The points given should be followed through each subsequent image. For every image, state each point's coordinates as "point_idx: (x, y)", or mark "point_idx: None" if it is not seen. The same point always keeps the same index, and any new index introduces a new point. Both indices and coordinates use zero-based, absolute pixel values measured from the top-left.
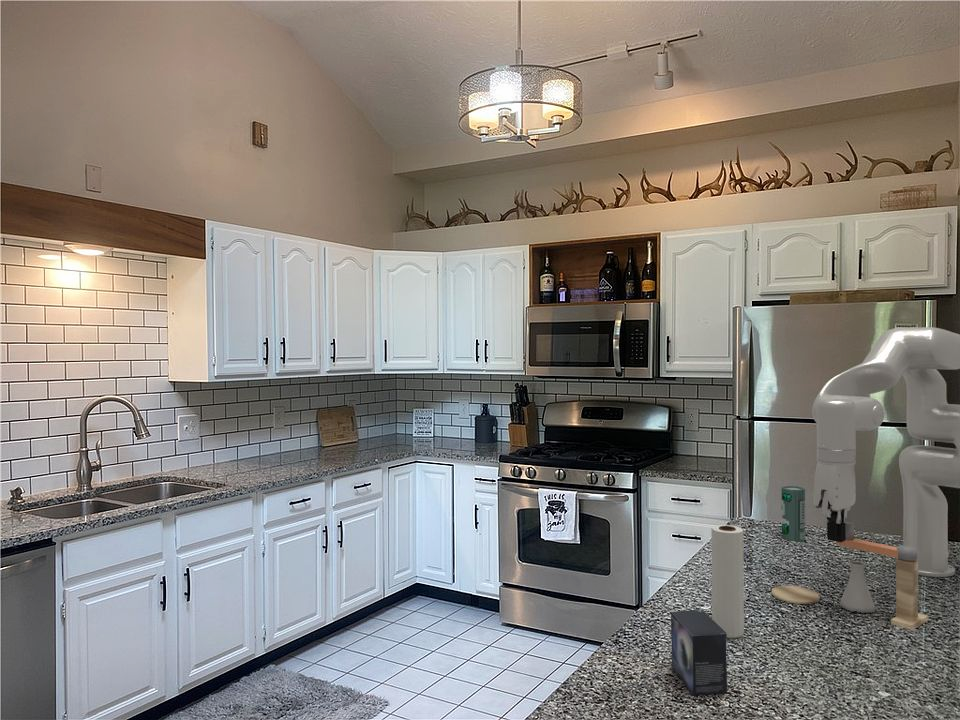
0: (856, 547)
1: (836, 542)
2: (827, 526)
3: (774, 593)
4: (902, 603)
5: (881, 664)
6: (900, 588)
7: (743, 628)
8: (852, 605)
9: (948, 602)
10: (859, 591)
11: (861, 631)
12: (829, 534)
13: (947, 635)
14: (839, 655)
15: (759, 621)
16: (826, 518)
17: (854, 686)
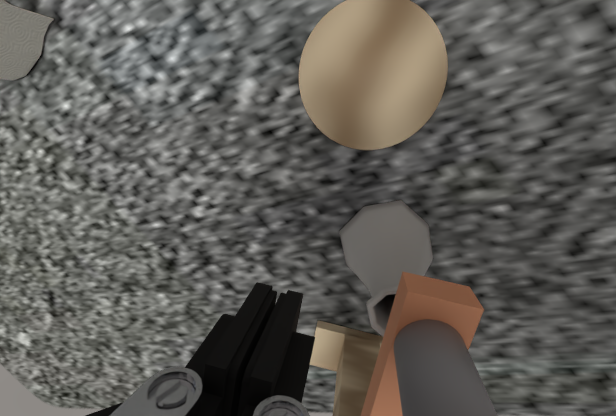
0: (376, 368)
1: (403, 279)
2: (225, 334)
3: (323, 21)
4: (339, 372)
5: (111, 326)
6: (338, 400)
7: (6, 76)
8: (345, 245)
9: (571, 411)
10: (360, 277)
11: (233, 277)
12: (220, 319)
13: (328, 407)
14: (91, 265)
15: (121, 72)
16: (136, 396)
17: (9, 304)
